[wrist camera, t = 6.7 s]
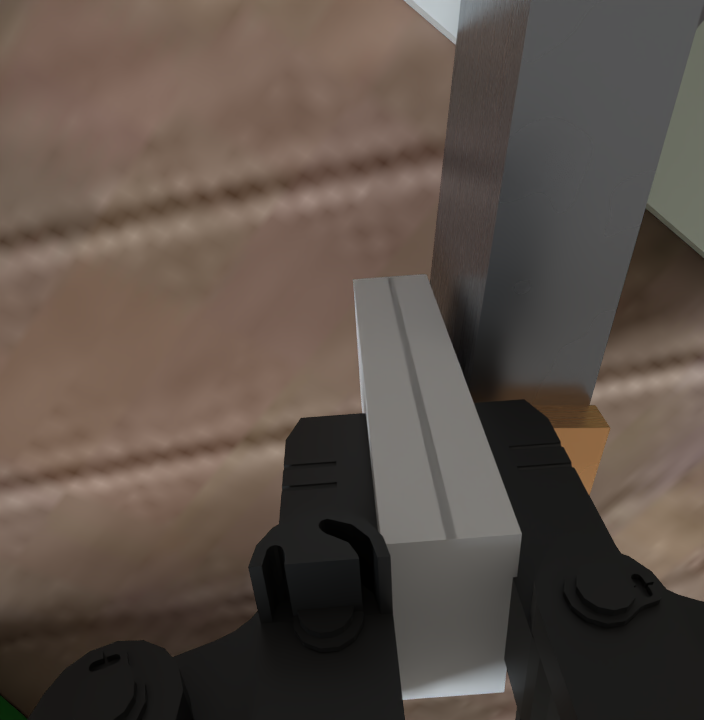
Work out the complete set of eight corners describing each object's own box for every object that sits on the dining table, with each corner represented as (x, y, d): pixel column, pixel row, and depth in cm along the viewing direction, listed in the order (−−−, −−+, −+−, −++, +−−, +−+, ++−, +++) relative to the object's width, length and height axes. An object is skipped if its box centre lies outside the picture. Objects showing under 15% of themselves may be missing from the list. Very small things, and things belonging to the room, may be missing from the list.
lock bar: (496, -842, 6) (772, -2140, 3) (788, -803, 7) (1472, -1966, 3) (389, 428, 15) (414, 584, 11) (519, 428, 15) (589, 582, 11)
